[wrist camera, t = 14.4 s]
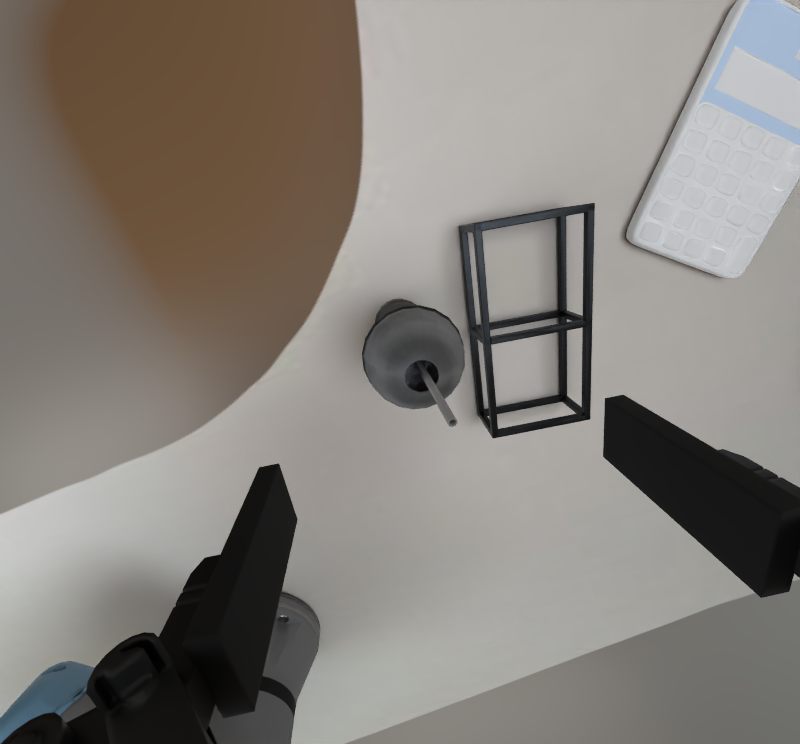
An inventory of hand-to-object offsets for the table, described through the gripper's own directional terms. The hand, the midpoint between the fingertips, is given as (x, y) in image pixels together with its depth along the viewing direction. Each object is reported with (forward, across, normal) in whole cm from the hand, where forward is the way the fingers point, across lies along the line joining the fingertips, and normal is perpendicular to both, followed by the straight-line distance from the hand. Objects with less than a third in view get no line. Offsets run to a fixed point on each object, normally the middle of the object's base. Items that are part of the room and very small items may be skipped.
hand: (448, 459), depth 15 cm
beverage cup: (+24, 0, 0) cm, 24 cm away
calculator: (+24, +33, +10) cm, 42 cm away
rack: (+24, +12, -2) cm, 27 cm away
